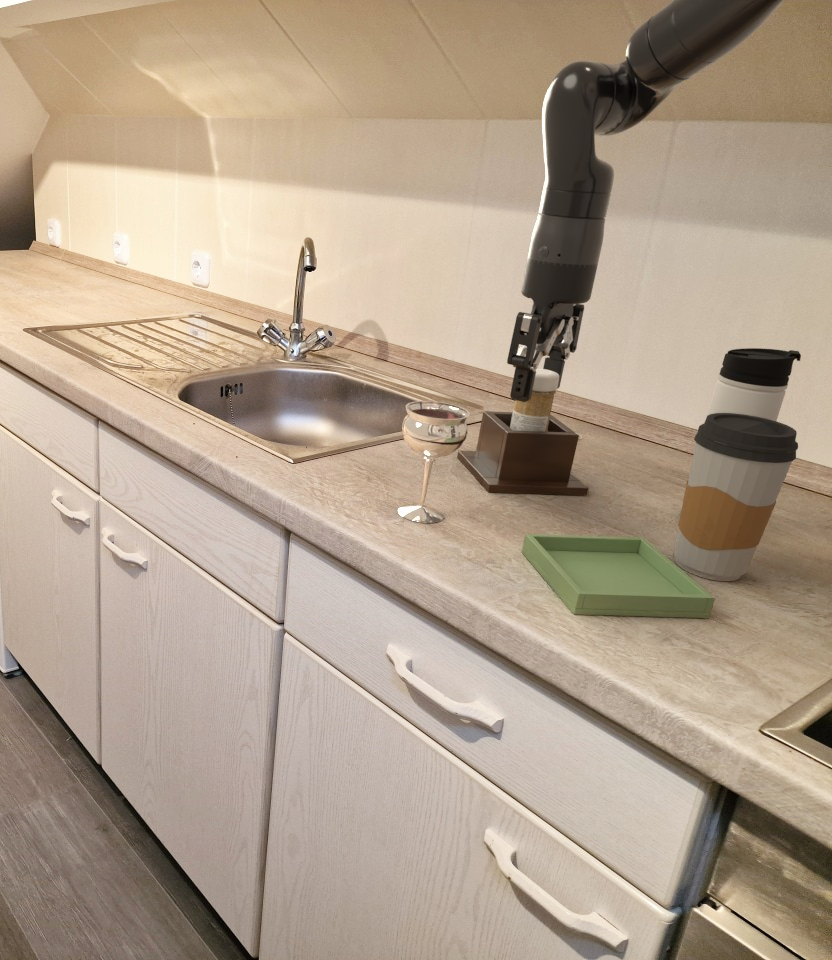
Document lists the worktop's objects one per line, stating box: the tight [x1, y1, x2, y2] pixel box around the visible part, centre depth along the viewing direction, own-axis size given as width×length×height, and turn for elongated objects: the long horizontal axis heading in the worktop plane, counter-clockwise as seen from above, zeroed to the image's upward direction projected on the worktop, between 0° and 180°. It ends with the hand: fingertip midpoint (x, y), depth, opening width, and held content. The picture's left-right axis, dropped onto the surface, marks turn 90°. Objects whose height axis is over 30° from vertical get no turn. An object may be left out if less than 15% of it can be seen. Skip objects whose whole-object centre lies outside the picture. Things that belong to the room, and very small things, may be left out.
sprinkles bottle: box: [510, 367, 559, 432], centre depth 104 cm, size 5×5×14 cm
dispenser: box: [456, 410, 589, 497], centre depth 106 cm, size 12×12×7 cm
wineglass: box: [397, 400, 471, 524], centre depth 92 cm, size 7×7×12 cm
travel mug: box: [678, 347, 802, 517], centre depth 92 cm, size 6×7×20 cm
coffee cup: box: [673, 413, 799, 582], centre depth 82 cm, size 8×8×15 cm
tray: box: [521, 533, 716, 619], centre depth 81 cm, size 12×12×2 cm
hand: (534, 394), depth 103 cm, fingers open, 8 cm apart
